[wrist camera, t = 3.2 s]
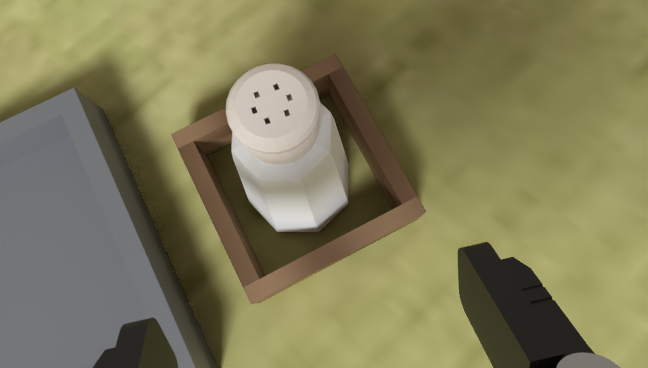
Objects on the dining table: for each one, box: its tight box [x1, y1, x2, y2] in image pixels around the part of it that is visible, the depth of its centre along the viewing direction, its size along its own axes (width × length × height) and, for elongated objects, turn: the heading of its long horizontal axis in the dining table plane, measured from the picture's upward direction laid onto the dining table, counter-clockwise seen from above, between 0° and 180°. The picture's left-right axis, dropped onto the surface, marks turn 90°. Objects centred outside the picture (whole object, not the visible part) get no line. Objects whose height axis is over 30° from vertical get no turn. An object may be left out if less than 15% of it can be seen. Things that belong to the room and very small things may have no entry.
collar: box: [171, 54, 426, 304], centre depth 24 cm, size 9×9×2 cm
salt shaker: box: [226, 63, 349, 232], centre depth 20 cm, size 5×5×11 cm
